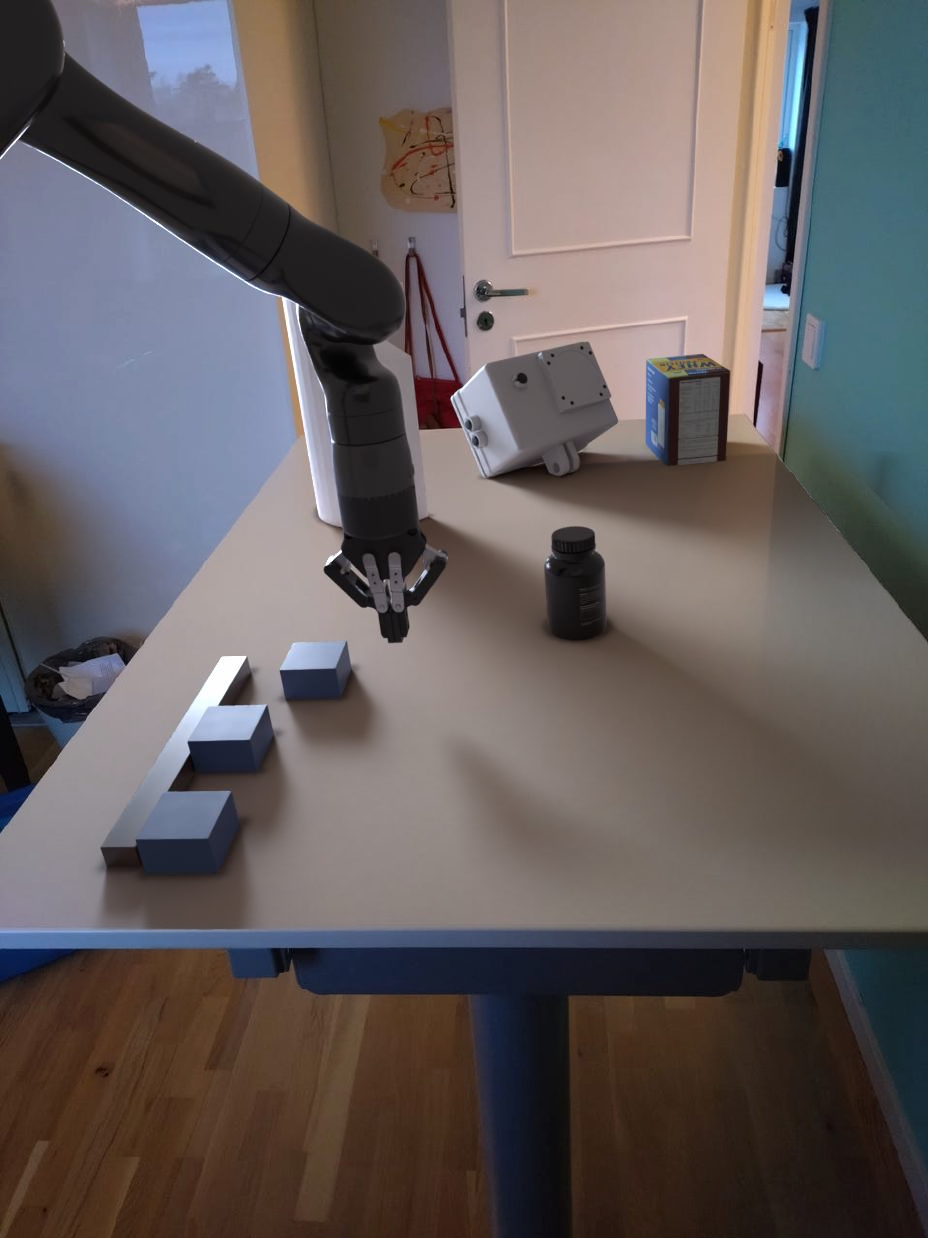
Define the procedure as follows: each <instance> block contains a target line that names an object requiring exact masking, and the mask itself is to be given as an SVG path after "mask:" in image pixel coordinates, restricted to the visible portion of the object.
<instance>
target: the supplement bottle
mask: <svg viewBox="0 0 928 1238" xmlns="http://www.w3.org/2000/svg"><path fill="white" fill-rule="evenodd" d="M550 539H551V545H550V548H551V552H552V553H551V554H550V555H549V556H548V557H547V558H546V559H545V561H544V565H543V570H544V571H543V572H544V590H545V602H546V603H545V607H546V620H547V621H546V622H547V630H548V631H549V633H550V634H551V635H552V636H554V637H556V638H559V639H561V640H566V641H586V640H590V639H594V638H597V637H599V636H601V635H602V634H603V633H604V632H605V631H606V630H607V623H608V620H607V619H608V618H607V611H608V610H607V580H606V579H607V578H606V562H605V559H604V558H603V556H602V555H601V554H600V553H599V552H598V551H596V549H597V543H596V533H595V531H594V529H592V528H589V527H586V526H580V525H579V526H578V525H573V526H572V525H571V526H566V527H564V526H563V527H560V528H557V529H556V530H554V531H553V532H552V533H551V537H550Z"/></svg>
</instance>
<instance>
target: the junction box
mask: <svg viewBox="0 0 928 1238" xmlns="http://www.w3.org/2000/svg"><path fill="white" fill-rule="evenodd" d="M611 398H612V393H611V391H610V388H609V387H608V384H607V382H606V379H605V377H604V374H603V373H602V369H601V367H600V365H599V363H598V360H597V358H596V355H595V353H594V351H593V348H592V346H591V343H590V341H579V342H574V343H570V344H566V345H565V344H564V345H560V346H557V347H553V348H548V349H543V350H539V351H534V352H530V353H526V354H522V355H517V356H513V357H512V356H511V357H507V358H503V359H499V360H494V361H491V362H487V363H485V364H484V365H483V366H482V367H481V368H479V369H478V371H476V373H475V374H474V375H473V376H472V377H471V378H470V379H469V380H468V381H467V382H466V383H465V384H464V385H463V386H462V387H461V388H459V389H457V391H455V392H454V394H453V395H451V397H450V402H451V405H452V406H453V409H454V412H455V413H456V416H457V418H458V422H459V424H460V426H461V428H462V430H463V433H464V435H465V438H466V441H467V443H468V445H469V448H470V450H471V453H472V455H473V457H474V460H475V463H476V465H477V467H478V470H479V472H480V474H481V477H482V478H483V479H490V478H494V477H497V476H500V475H504V474H506V473H509V472H510V473H511V472H513V471H517V470H520V469H524V468H531V467H534V466H537V465H540V464H545V466H546V469H547V471H548V473H549V474H551V475H554V476H556V477H561V476H564V475H566V474H571V473H574V472H576V471H577V470H578V469H579V468H580V456H579V454H578V453H579V452H581V450H583V449H585V448H587V447H588V445H589V444H590V443H591V442H593V441H594V440H596V439H597V438H599V437H600V436H602V435H603V434H605V433H606V432H607V431H609V430H610V429H612V428H613V427H615V426H616V425H617V424H618V423H619V418H618V416H617V413H616V411H615V409H614V406H613V404H612V402H611V400H610V399H611Z"/></svg>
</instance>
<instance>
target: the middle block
mask: <svg viewBox="0 0 928 1238" xmlns="http://www.w3.org/2000/svg"><path fill="white" fill-rule="evenodd" d="M274 736H275V733H274V728H273V723H272V718H271V714H270V710H269V706H268V704H250V705H248V704H242V705H241V704H240V705H239V704H238V705H232V706H209V707H208V708H207V710H206V711H205V713H204V715H203V716H202V718H201V720H200V721H199V723H198V725H197V726H196V728H195V730H194V731H193V733H192V735H191V736H190V738H189V740H188V741H187V743H188V746H189V750H190V754H191V757H192V761H193V765H194V769H195V772H194V773H196V774H198V773H199V774H201V773H203V774H204V773H205V774H206V773H248V772H249V773H250V772H258V771H259V769H260V766H261V764H262V762H263V760H264V758H265V755H266V754H267V751H268V749H269V747H270V745H271V742H272V740H273V738H274Z"/></svg>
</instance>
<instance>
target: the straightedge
mask: <svg viewBox="0 0 928 1238" xmlns="http://www.w3.org/2000/svg"><path fill="white" fill-rule="evenodd" d="M251 673H252V671H251V667H250V662H249V657H248V656H247V655H241V656H221V658H220V659H219V661H218V662H217V663H216V665H215V667H214V669H212V672H210V675H209V676H208V677H207V679H206V680H205V682H204V684H203V685H202V687H201V688H200V690H199V692H198V694H197V695H196V696H195V698H194V700H193V701H192V703H191V705H190V706H189V708H188V709H187V711H186V713H184V715H183V717H182V718H181V720H180V722H179V723H178V725H177V727H176V728H175V730H174V731H173V733H172V734H171V736H170V738H169V739H168V740H167V742H166V744H165V745H164V746H163V748H162V750H161V751H160V753H159V755H158V756H157V758H156V759H155V761H154V762H153V764H152V766H151V767H150V769H149V770H148V772H147V773H146V775H145V776H144V778H143V780H142V781H141V783H140V785H139V786H138V787H137V789H136V791H135V792H134V794H133V795H132V797H131V799H130V800H129V802H128V803H127V804H126V806H125V808H124V809H123V811H122V812H121V814H120V816H119V818H118V819H117V821H116V822H115V824H114V825H113V827H112V828H111V830H110V832H109V833H108V834H107V836H106V838H105V839H104V841H103V842H102V844H101V846H100V848H99V849H100V852H101V855H102V857H103V860H104V863H105V866H106V868H129V867H130V868H141V867H142V866H143V862H142V859H141V856H140V853H139V850H138V847H137V844H136V841H135V839H136V838H137V836H138V834H139V833H140V831H141V829H142V828H143V826H144V824H145V823H146V821H147V819H148V817H149V816H150V814H151V812H152V811H153V809H154V807H155V806H156V804H157V802H158V801H159V799H160V797H161V796H162V794H163V792H185V790H186V788H187V786H188V785H189V783H190V781H191V779H192V777H193V776H194V774H195V773H196V772H195V769H194V765H193V761H192V757H191V754H190V750H189V746H188V743H187V741H188V740H189V738H190V736H191V735H192V733H193V731H194V730H195V728H196V726H197V725H198V723H199V721H200V720H201V718H202V716H203V715H204V713H205V711H206V710H207V708H208V707H209V706H234V703H235V701H236V700H237V698H238V696H239V694H240V692H241V690H242V689H243V687H244V685H245V684H246V682H247V680H248V678H249V677H250V674H251Z"/></svg>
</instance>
